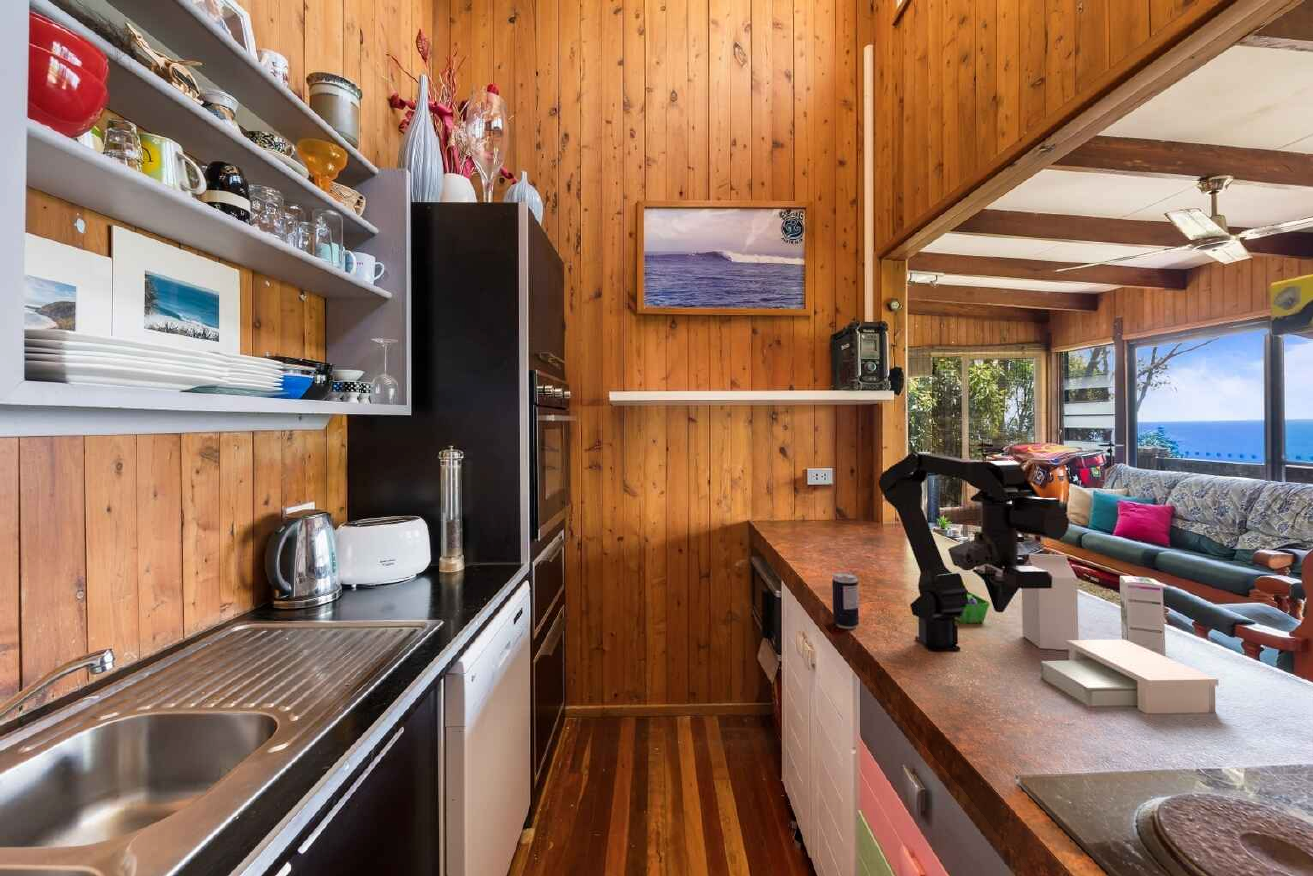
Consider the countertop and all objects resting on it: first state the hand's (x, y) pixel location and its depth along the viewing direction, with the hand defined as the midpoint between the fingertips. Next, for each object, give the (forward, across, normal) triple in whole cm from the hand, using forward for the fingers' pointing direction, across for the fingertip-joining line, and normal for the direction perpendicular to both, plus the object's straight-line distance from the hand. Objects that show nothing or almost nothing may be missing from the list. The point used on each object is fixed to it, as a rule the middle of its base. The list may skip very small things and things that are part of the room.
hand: (998, 611), depth 94 cm
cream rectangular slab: (+11, +6, +15) cm, 20 cm away
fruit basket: (+13, -30, +11) cm, 35 cm away
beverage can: (+13, -25, -19) cm, 34 cm away
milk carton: (+12, -14, +20) cm, 27 cm away
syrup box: (+12, -10, +36) cm, 39 cm away
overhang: (+11, +6, +19) cm, 23 cm away
